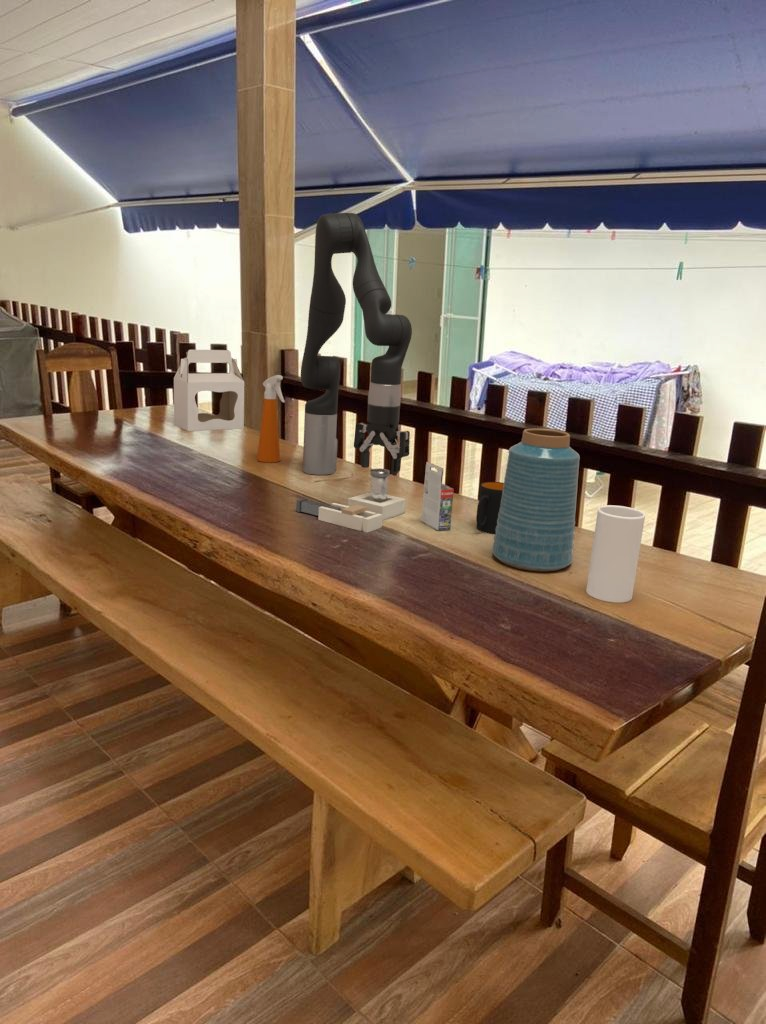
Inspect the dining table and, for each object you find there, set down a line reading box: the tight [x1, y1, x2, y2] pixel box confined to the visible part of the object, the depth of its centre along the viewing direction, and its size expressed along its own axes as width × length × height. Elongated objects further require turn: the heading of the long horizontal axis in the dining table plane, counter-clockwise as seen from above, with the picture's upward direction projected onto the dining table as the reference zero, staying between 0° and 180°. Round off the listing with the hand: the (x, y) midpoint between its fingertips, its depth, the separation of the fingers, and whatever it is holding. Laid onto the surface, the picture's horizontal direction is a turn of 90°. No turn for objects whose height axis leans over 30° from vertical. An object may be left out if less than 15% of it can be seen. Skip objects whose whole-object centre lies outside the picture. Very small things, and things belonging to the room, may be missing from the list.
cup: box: [585, 504, 646, 604], centre depth 142 cm, size 8×8×16 cm
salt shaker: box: [369, 468, 391, 503], centre depth 186 cm, size 5×5×10 cm
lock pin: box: [295, 497, 340, 516], centre depth 182 cm, size 3×11×3 cm, turn 56°
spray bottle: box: [256, 374, 286, 464], centre depth 233 cm, size 7×11×26 cm, turn 41°
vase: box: [491, 428, 581, 573], centre depth 157 cm, size 16×16×27 cm
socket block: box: [347, 491, 407, 522], centre depth 188 cm, size 10×10×4 cm
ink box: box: [421, 461, 454, 532], centre depth 179 cm, size 4×8×15 cm, turn 26°
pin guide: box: [317, 502, 383, 534], centre depth 177 cm, size 6×14×4 cm, turn 56°
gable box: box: [173, 349, 245, 432], centre depth 283 cm, size 22×13×28 cm, turn 125°
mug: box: [475, 481, 504, 535], centre depth 178 cm, size 8×12×10 cm
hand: (379, 470), depth 186 cm, fingers open, 8 cm apart
